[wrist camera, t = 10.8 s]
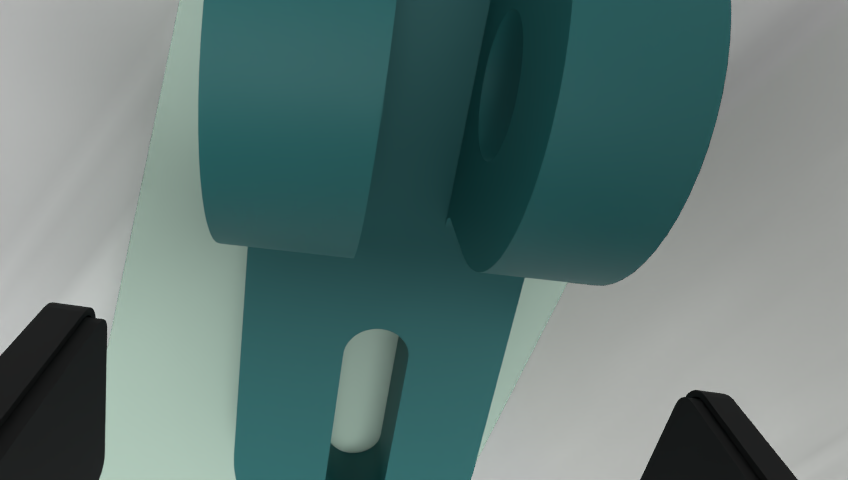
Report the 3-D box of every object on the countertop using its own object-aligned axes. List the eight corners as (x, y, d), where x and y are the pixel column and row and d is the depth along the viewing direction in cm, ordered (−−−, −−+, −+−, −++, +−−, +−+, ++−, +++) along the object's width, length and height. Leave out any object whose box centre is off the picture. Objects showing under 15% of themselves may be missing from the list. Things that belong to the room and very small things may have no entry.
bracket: (287, -145, 13) (208, -251, 6) (584, -84, 15) (803, -115, 7) (240, 486, 21) (179, 768, 14) (442, 497, 22) (484, 764, 15)
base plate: (680, -87, 18) (760, -96, 15) (420, 467, 26) (431, 549, 23) (275, -279, 16) (251, -348, 12) (120, 405, 24) (78, 487, 20)
